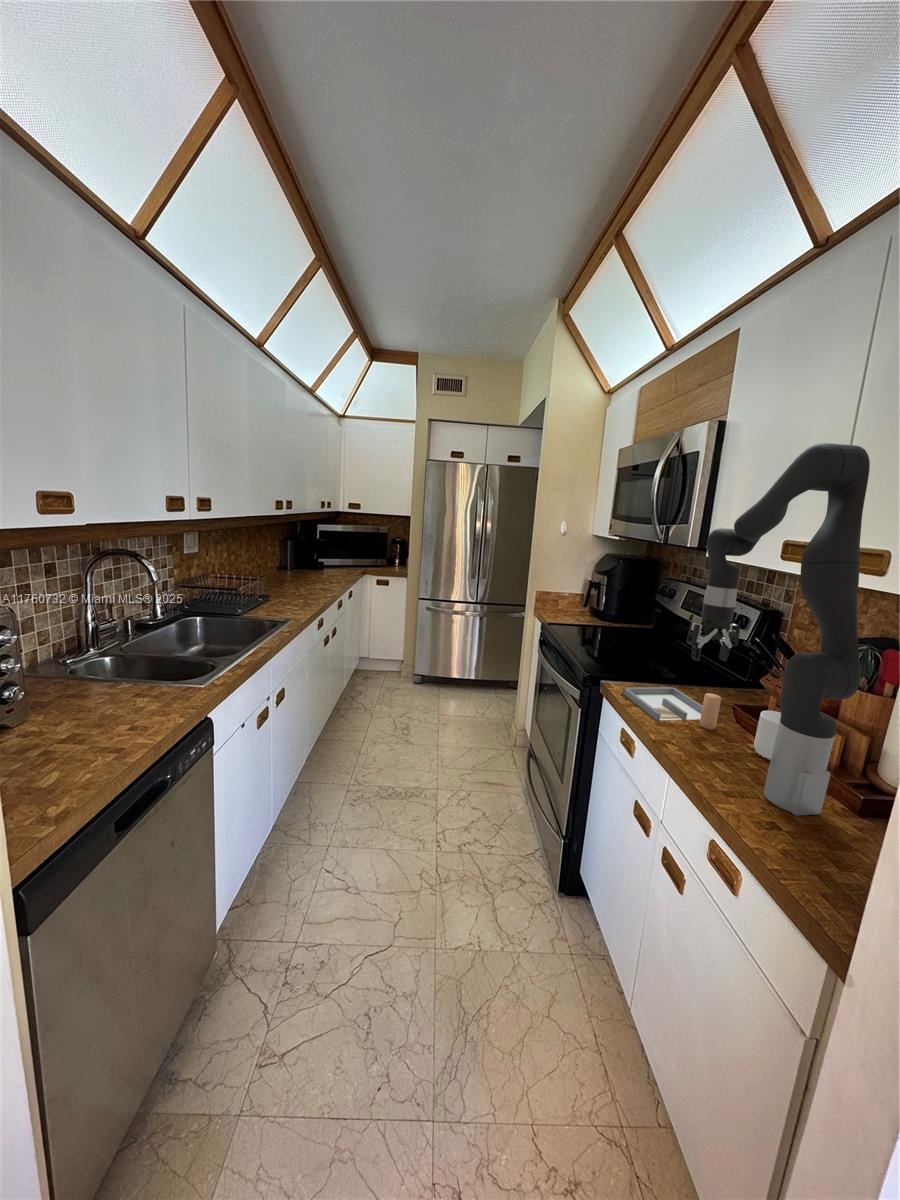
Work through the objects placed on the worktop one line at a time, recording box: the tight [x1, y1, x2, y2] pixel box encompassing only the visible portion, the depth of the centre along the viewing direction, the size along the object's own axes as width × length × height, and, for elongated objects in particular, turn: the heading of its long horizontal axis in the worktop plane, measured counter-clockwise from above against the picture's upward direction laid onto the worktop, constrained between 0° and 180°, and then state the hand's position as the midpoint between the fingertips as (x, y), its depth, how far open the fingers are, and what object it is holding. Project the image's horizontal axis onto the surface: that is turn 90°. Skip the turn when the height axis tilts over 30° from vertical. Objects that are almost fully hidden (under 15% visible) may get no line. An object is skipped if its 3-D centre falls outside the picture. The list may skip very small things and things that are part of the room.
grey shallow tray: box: [621, 686, 703, 721], centre depth 144 cm, size 19×18×3 cm
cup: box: [753, 710, 781, 761], centre depth 121 cm, size 8×12×10 cm
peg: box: [699, 692, 722, 730], centre depth 131 cm, size 4×4×10 cm
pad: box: [654, 708, 679, 718], centre depth 138 cm, size 6×6×1 cm
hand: (709, 660), depth 130 cm, fingers open, 8 cm apart
